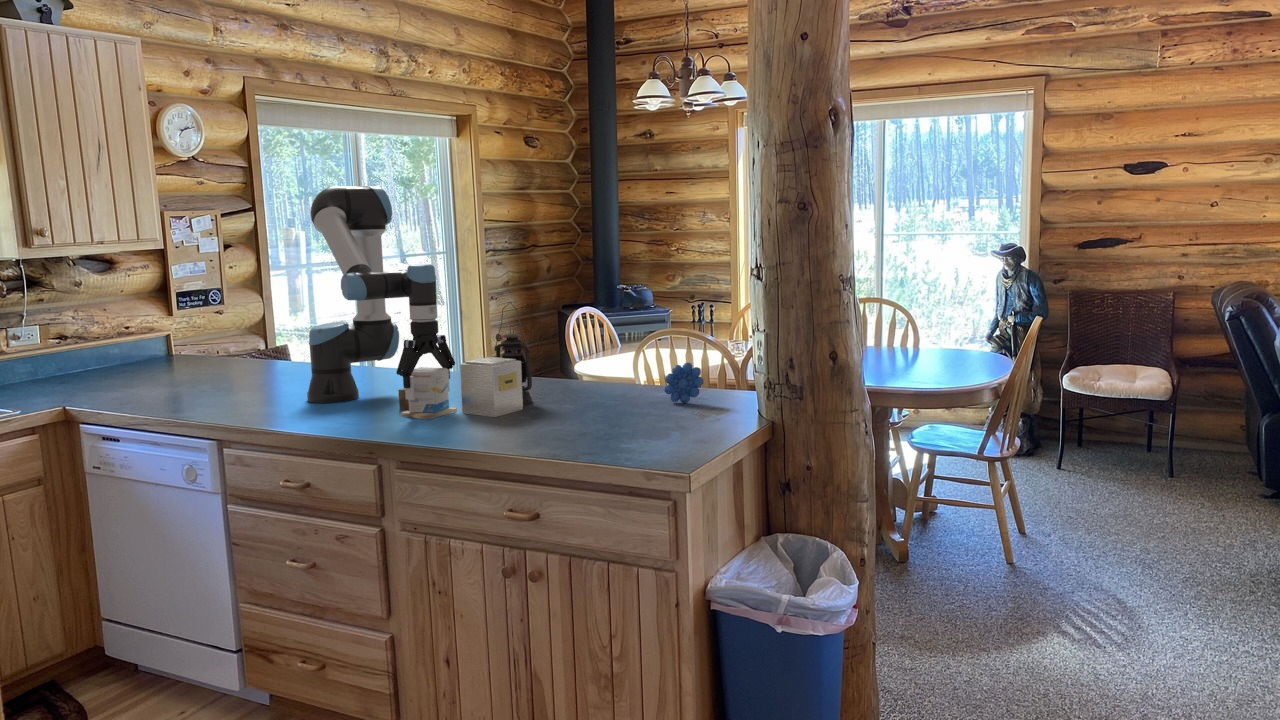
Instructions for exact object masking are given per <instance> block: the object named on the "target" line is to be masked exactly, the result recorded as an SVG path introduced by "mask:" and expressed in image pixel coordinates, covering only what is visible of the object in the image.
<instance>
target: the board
mask: <svg viewBox="0 0 1280 720" xmlns="http://www.w3.org/2000/svg"><path fill="white" fill-rule="evenodd" d="M457 412H458V408H457V407H452V406H449V408H447V409H445V410H442V411H440V412H438V413H414V412H409V411H405V410H404V411H401V412H400V416H401V417H405V418H406V417H407V418H414V419H421V420H428V419H434V418H438V417H443V416H445V415H450V414H453V413H457Z"/></svg>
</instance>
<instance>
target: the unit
mask: <svg viewBox="0 0 1280 720" xmlns="http://www.w3.org/2000/svg"><path fill="white" fill-rule="evenodd" d="M459 368H460V371H459V372H460V388H461V389H460V390H461V408H462V409H461V410H462V414H467V415H472V416H473V415H474V416H483V417H490V418H497V417H501V416H504V415H508V414H511V413H515V412H519V411H522V410H524V405H523V397H522V386H523V384H522V372H521V361H516V359H509V358H502V357H500V358H497V357H496V356H495V357H493V356H486V357H483V358H482V357H481V358H476V359H472V360H467V361H465V362H464V363H460V364H459Z"/></svg>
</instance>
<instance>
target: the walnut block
mask: <svg viewBox="0 0 1280 720" xmlns="http://www.w3.org/2000/svg"><path fill="white" fill-rule="evenodd" d="M397 391H398V406H399V407H398V409H399V411H404V412H405V411H409V400H407V399H406V395H405V388H404V387H403V388H401V389H398V390H397Z"/></svg>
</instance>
